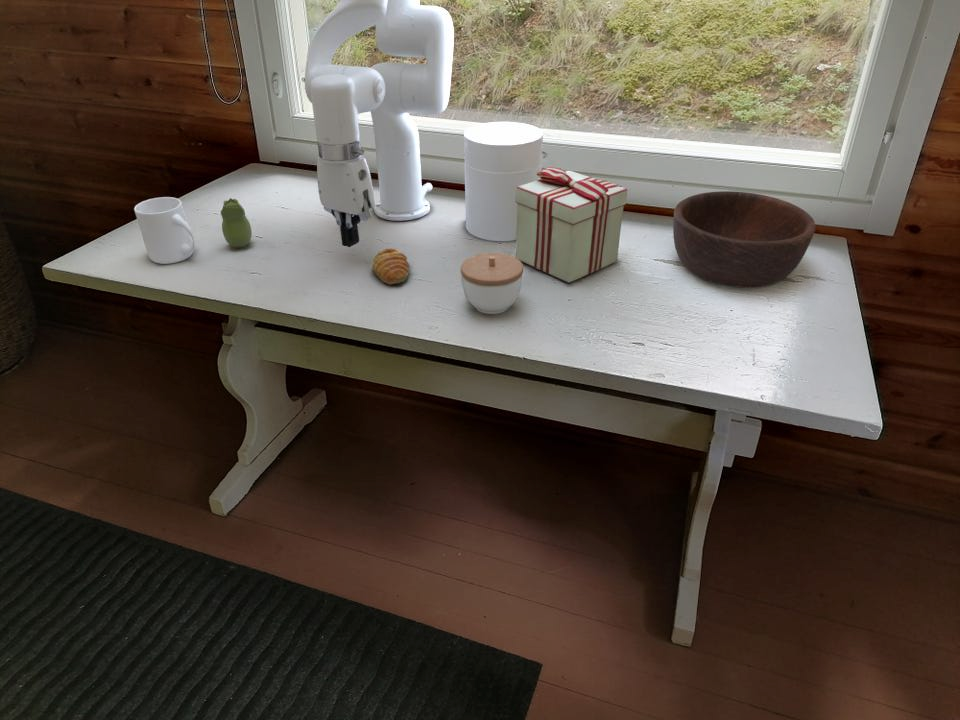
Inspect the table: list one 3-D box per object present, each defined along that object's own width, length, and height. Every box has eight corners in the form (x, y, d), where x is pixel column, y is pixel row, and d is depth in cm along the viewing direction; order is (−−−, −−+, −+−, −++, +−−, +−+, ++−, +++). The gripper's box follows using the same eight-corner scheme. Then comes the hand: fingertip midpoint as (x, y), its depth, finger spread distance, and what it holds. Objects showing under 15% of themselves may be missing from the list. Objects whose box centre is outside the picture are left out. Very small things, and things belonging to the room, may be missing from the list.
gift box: (630, 254, 139) (640, 170, 129) (574, 287, 128) (581, 198, 118) (562, 231, 148) (567, 151, 138) (505, 260, 137) (506, 175, 127)
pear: (253, 239, 147) (244, 193, 141) (255, 249, 142) (245, 203, 137) (226, 242, 145) (215, 197, 140) (226, 253, 141) (215, 206, 135)
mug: (182, 272, 134) (168, 220, 128) (140, 259, 139) (124, 209, 133) (216, 254, 141) (203, 204, 134) (174, 243, 145) (160, 194, 139)
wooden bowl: (658, 283, 128) (666, 232, 123) (675, 231, 148) (682, 184, 142) (803, 305, 121) (818, 252, 115) (801, 247, 141) (814, 198, 135)
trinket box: (459, 292, 127) (458, 245, 121) (518, 289, 127) (519, 242, 122) (463, 322, 118) (462, 273, 112) (526, 319, 118) (527, 270, 113)
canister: (554, 225, 151) (559, 132, 140) (503, 248, 142) (504, 150, 130) (501, 205, 160) (502, 117, 149) (450, 225, 151) (447, 133, 140)
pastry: (415, 283, 129) (414, 265, 127) (380, 289, 128) (378, 271, 126) (404, 262, 137) (403, 244, 135) (370, 267, 135) (368, 249, 133)
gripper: (385, 150, 124) (393, 245, 134) (322, 138, 130) (334, 229, 140) (358, 162, 118) (368, 259, 129) (294, 148, 125) (308, 242, 135)
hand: (350, 243), depth 134 cm, fingers closed
